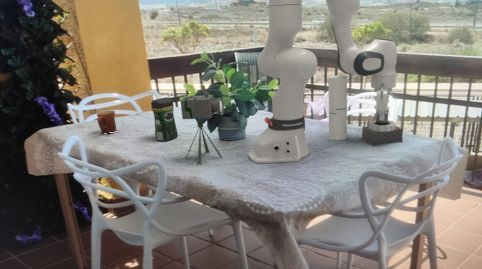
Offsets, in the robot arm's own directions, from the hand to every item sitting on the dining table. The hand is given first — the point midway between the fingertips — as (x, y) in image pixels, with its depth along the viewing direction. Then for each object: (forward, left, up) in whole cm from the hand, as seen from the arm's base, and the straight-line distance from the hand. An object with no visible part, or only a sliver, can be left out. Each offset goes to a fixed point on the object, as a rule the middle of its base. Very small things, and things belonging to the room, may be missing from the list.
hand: (382, 117), depth 156 cm
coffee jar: (-84, +37, -9) cm, 92 cm away
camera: (-69, +4, -9) cm, 70 cm away
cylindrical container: (-14, +10, -9) cm, 19 cm away
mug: (-113, +58, -9) cm, 127 cm away
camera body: (0, 0, -9) cm, 9 cm away
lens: (0, 0, -4) cm, 4 cm away
